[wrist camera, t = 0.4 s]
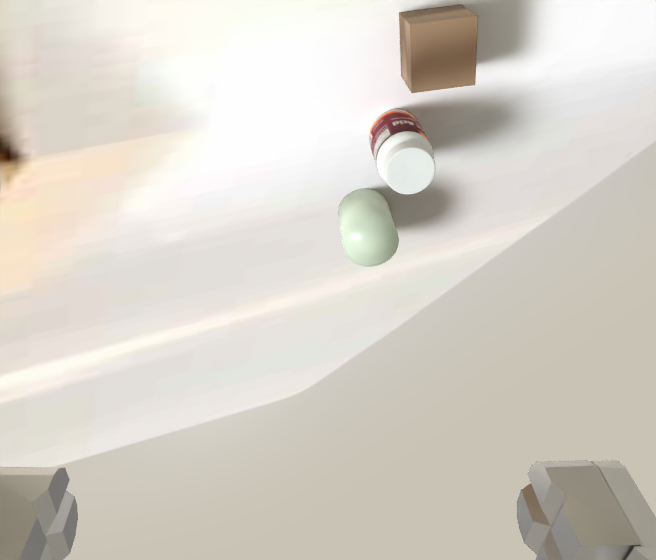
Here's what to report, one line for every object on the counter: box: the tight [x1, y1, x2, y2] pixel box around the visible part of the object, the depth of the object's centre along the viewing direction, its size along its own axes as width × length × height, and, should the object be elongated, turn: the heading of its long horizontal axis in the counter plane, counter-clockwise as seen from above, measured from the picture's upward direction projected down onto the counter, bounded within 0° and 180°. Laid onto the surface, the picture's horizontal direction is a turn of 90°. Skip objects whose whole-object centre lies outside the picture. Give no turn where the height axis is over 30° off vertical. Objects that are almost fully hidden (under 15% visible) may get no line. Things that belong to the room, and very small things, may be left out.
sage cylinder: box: [338, 189, 399, 267], centre depth 53 cm, size 5×5×6 cm
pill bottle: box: [369, 109, 435, 194], centre depth 48 cm, size 5×5×8 cm
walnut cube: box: [399, 5, 478, 93], centre depth 45 cm, size 5×5×5 cm
